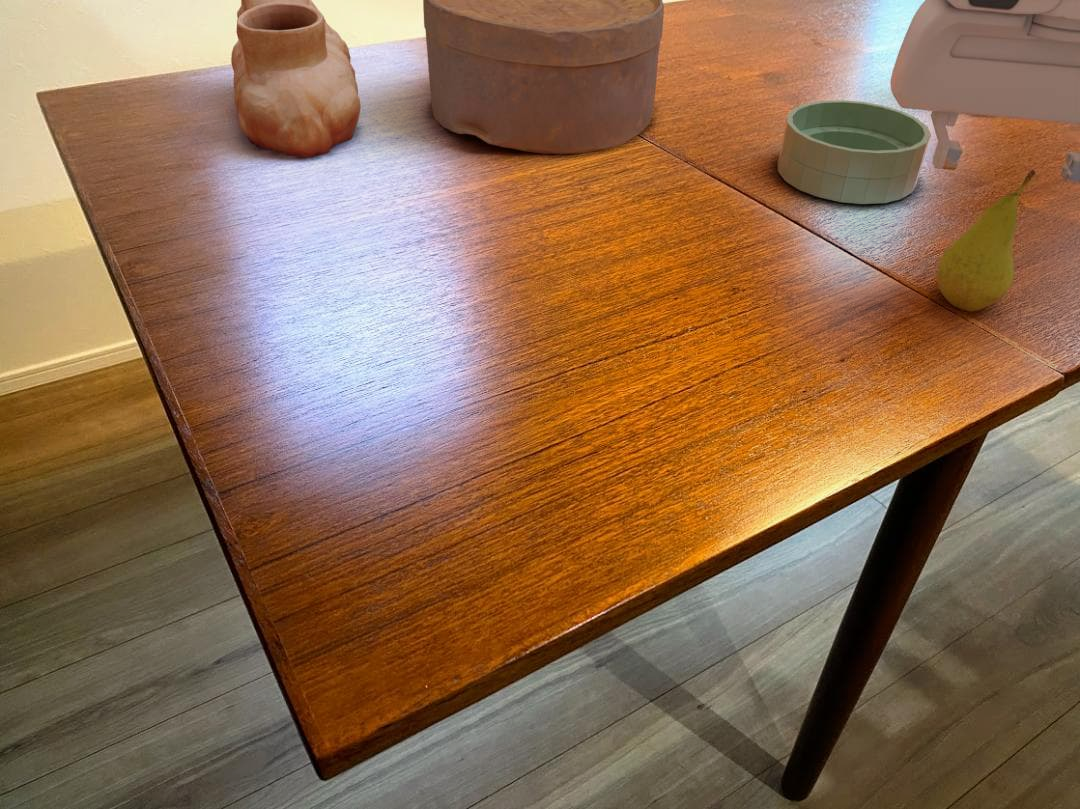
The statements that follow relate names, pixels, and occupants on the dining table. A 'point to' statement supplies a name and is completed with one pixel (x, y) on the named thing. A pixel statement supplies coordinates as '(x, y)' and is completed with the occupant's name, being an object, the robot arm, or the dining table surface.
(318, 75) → the ceramic vessel
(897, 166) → the bowl
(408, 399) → the dining table surface
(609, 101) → the container
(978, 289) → the fruit
